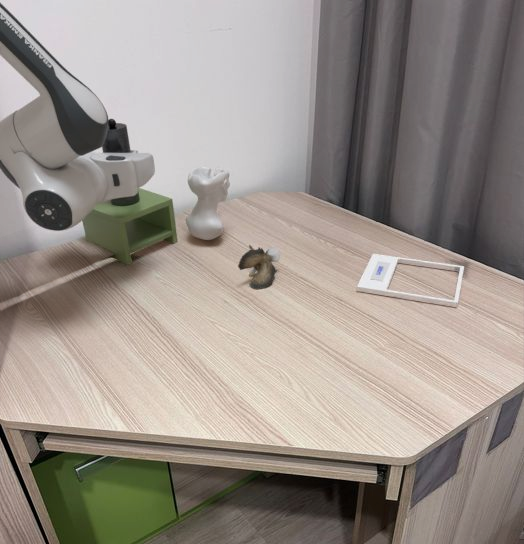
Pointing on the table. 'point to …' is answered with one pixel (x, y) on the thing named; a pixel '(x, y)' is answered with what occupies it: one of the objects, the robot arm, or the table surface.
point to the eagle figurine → (260, 265)
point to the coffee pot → (119, 144)
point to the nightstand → (131, 225)
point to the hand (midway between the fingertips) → (111, 154)
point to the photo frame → (382, 273)
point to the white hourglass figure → (207, 201)
